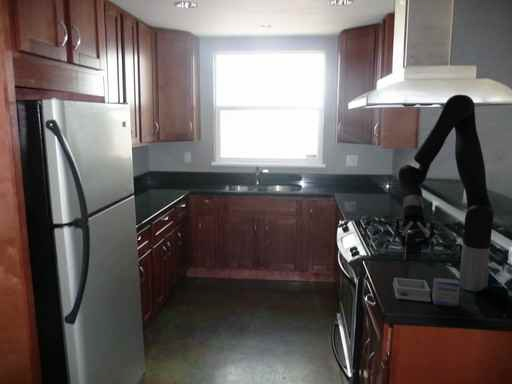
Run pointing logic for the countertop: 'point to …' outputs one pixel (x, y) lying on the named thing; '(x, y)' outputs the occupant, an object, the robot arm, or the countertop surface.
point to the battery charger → (414, 244)
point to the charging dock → (411, 289)
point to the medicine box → (445, 292)
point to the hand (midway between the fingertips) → (415, 247)
